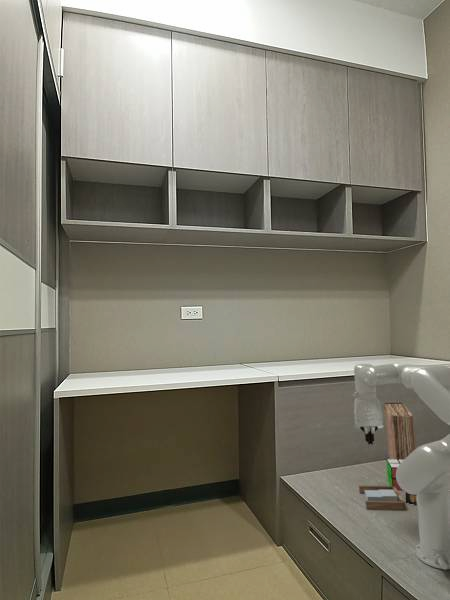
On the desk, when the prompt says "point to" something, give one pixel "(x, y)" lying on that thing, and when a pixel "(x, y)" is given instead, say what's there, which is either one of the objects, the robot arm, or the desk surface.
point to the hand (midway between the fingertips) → (369, 443)
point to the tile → (388, 495)
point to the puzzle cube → (393, 472)
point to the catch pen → (383, 504)
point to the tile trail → (373, 495)
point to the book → (399, 431)
